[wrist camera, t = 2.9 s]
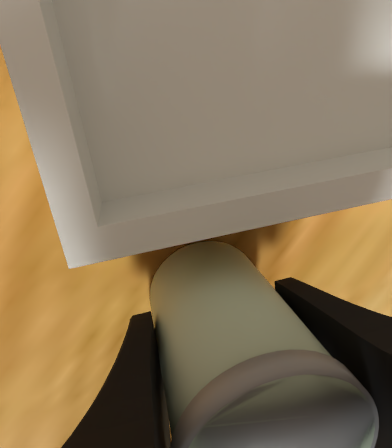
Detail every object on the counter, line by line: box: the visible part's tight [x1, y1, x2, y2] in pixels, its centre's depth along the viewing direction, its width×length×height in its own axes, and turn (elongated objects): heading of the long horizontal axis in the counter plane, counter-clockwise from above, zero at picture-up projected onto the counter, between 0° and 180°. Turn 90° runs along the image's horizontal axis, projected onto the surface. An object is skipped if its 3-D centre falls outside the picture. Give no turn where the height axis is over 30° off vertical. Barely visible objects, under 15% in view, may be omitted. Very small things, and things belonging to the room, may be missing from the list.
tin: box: [150, 241, 379, 448], centre depth 10 cm, size 5×5×7 cm
